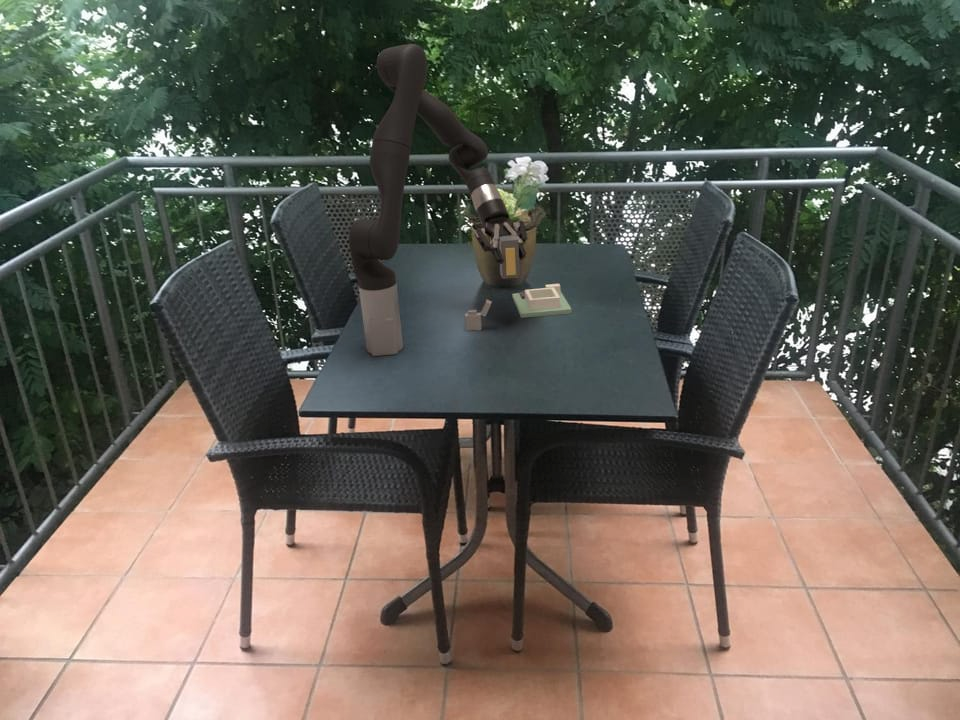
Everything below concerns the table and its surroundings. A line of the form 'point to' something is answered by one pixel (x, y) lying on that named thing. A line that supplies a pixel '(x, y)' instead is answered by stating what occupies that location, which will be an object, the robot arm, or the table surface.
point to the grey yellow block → (509, 256)
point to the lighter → (476, 317)
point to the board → (541, 302)
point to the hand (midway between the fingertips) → (512, 260)
